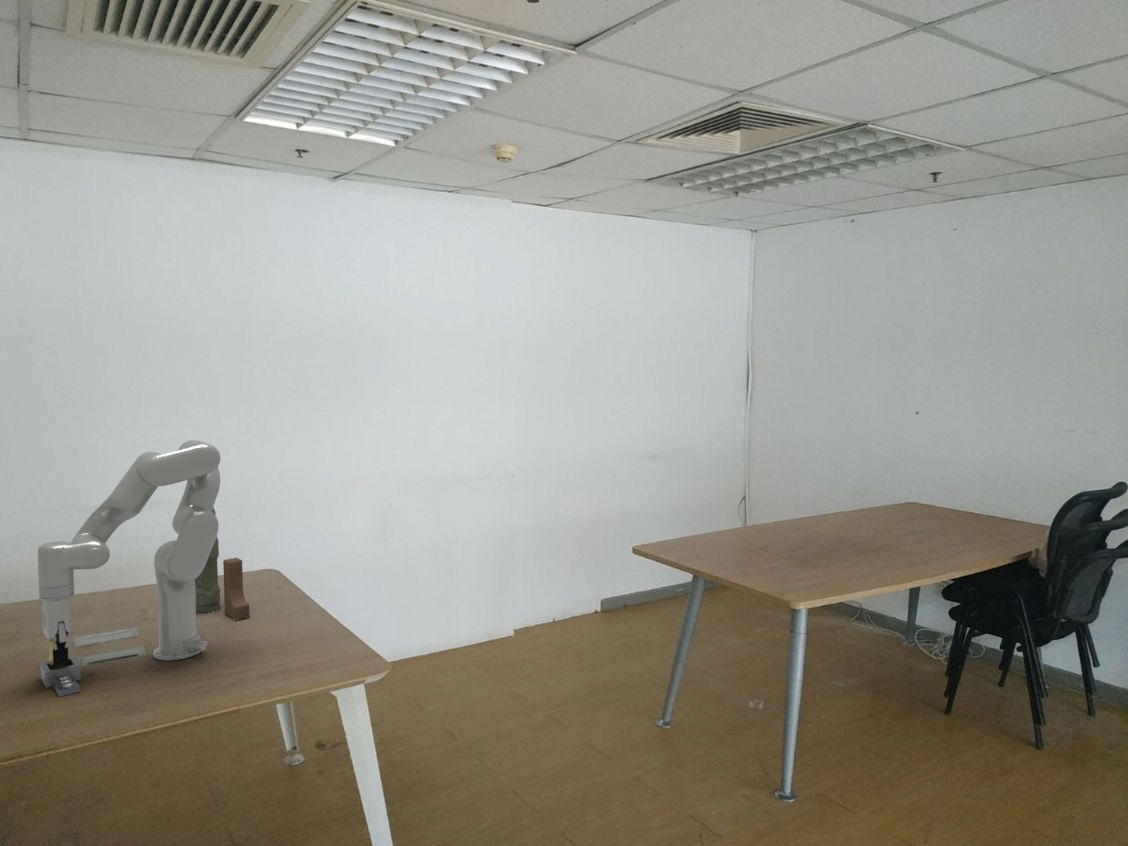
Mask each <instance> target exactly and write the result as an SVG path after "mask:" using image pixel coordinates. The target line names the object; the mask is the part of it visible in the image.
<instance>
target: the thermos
mask: <svg viewBox="0 0 1128 846" xmlns="http://www.w3.org/2000/svg"><path fill="white" fill-rule="evenodd" d="M212 513H213V514H214V515H215V516H216V517H217V514H216V510H215V508H214V507H213V509H212ZM219 549H220V548H219V538H218V536H217V537H216V539H215V542H214V545H213V547H212V550H211V552H210V555H209V557H208V560H207V562H206V565H205V567H204V569H203V571H202V572H201V574H200V575H199V576H198V577H197V578H196V579H195V588H196V613H205V614H209V613H208V612H211V613H213V612H212V611H215V610H217V609H219V608H221V606H220V605H221V604H220V602H221V589H220V586H219V579H218V574H219V573H218V571H219V569H218V558H219V556H220V551H219ZM219 610H220V609H219ZM217 611H218V610H217ZM215 612H216V611H215Z"/></svg>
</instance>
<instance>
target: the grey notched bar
mask: <svg viewBox="0 0 1128 846" xmlns="http://www.w3.org/2000/svg"><path fill="white" fill-rule="evenodd" d="M39 664H40V666H39V669H40V680H41V679H42V680H41V681H43V682H42V684H43V683H44V684H43V685H45V686H44V688H45V687H49V688H51V687H50V686H54V687H53V689H54V688H55V689H54V691H55V690H56V691H55V692H57V693H56V694H57V697H58V698H61V697H65V696H64V695H66V696H70V695H73V694H72V693H74V694H77V693H76V692H78V693H81V692H80V691H81V689H80V688H81V687H80V684H79V681H81V680H82V675H81V674H82V671H81V670H82V669H81V664H80V662H79V660H78V659H77V658H76V656H71V657H70V656H68V666H66V667H62V668H57V669H52V670H50V666H49V660H45V661H42V662H41V663H39ZM76 680H79V681H76ZM69 694H70V695H69ZM60 696H61V697H60Z"/></svg>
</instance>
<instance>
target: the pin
mask: <svg viewBox="0 0 1128 846" xmlns="http://www.w3.org/2000/svg"><path fill="white" fill-rule="evenodd" d="M56 637H59V635H56ZM68 637H70V635H69V636H67V638H68ZM45 639H46V640H47V641H48V661H49V666H50V670H52V669H57V668H62V667H66V666H68V663H64V664H60V665H53V650H54V641H53V638H51V640H49V639H47V637H46V636H45ZM57 641H59V640H57ZM67 647H68V648H69V646H68V642H67Z"/></svg>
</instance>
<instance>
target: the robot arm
mask: <svg viewBox="0 0 1128 846" xmlns="http://www.w3.org/2000/svg"><path fill="white" fill-rule="evenodd" d="M220 463H221V454H220V452H219V450H218V448H216V447H215V445H213V444H210V443H206V442H204V441H200V440H196V439H194V440H193V439H192V440H187V441H185V442H183V443H181V445H180V446H179V448H178V450H175V451H169V452H165V453H160V452H156V451H147V452H144V453H141V454H140V455H139V456H138V457H137V458H136V460H134V462H133V463H132V464H131V466H130V467H129V469H128V470H127V471H126V473H125V474H124V475H123V476H122V478H121V480H119V483H117V485H116V487H115V488H114V489H113V490H112V492H111V493H110V494H109V495H108V497H107V498H106V499H105V500H104V501H103V502H102V503H101V504H100V505H99V506H98V507H97V508H96V509H95V510H94V511H93V512H92V513H91V514H90V515H89V516H88V518H87V519H86V520H85V522H84V523H83V524H82V526H80V528H79V530H78V531H77V532H76V533H75V535H74V537H73V538H72V540H71V541H70V542H69V541H62V540H61V541H52V542H51V541H50V542H45V543H43V544H41V545H40V546H39V547H38V549H37V570H38V571H37V576H38V579H37V580H38V599H39V600H40V601H42V632H43V634H44V636H45V638H46V637H47V639H49V640H51V638H53V641H54V650H53V665H60V664H64V663H68V658H69V646H68V647H67V643H68V637H67V636H69V637H70V635H71V633H72V632H71V630H72V623H71V621H72V619H71V600H70V598H72V597H74V596H75V572H74V571H75V570H95V569H98V568H101V567H102V566H104V565H106V563H107V562H108V561H109V559H110V556H111V553H110V549H109V547H108V545H107V544H106V543H107V542H108V540H109V539H110V537H111V536H112V534H113V533H114V532H115V531H116V530H117V528H119V527H120V526H121V525H122V524H123V523H125V522H126V521H129V520H130V519H133V518H135V517H136V516H137V515H140V513H141V512H142V511H143V509H144V507H145V506H146V504H147V503H148V501H150V499H151V497H152V496H153V495H154V493H155V492H156V490H158V487H165V486H169V485H174V484H177V483H182V482H185V481H186V486H185V488H184V491H183V494H182V497H181V499H180V502H179V504H178V506H177V509H176V512H175V514H174V516H173V519H172V523H171V524H172V525H171V526H172V529H173V530H174V531H175V533H176V534H177V538H176V540H169V541H167V542H164V543H163V544H162V545H160V546H159V547H158V549H157V550H156V552H155V555H154V561H153V565H154V572H155V580H156V589H157V592H156V593H157V617H158V618H157V625H158V647H156V648H155V649H154V650H153V651H152V657H153V658H154V659H156V660H159V661H177V660H178V661H180V660H184V659H189V658H192V657H194V655H195V656H197V655H199V654H200V653H201V652H204V651H205V650H206V648H207V646H208V643H209V642H208V641H207V640H201V635H200V634H198V632H197V631H198V630H197V614H196V588H195V579H196V578H197V577H198V576H199V575H200V574H201V572H202V571H203V569H204V567H205V565H206V562H207V560H208V557H209V555H210V552H211V550H212V547H213V545H214V542H215V539H216V537H217V538H218V533H219V520H218V518H217V515H216V516H215V515H214V514H213V513H212V509H213V507H214V506H215V503H216V500H217V497H218V494H219V491H220V487H221V473H220V469H219V465H220ZM56 635H59V637H56ZM47 639H46V640H47ZM49 640H48V641H49ZM57 640H59V641H57ZM179 659H180V660H179Z"/></svg>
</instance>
